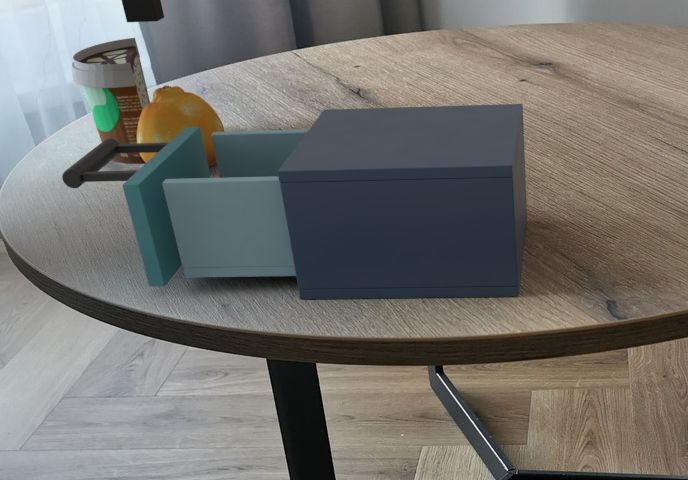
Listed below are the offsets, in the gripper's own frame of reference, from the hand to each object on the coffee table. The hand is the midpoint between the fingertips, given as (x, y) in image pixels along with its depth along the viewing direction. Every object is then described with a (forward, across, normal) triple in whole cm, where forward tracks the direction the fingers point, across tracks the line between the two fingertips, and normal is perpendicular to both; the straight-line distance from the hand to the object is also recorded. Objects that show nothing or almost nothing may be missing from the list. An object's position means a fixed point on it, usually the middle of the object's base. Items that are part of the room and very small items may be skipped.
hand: (145, 19), depth 82 cm
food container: (+15, +10, +10) cm, 21 cm away
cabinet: (+15, -15, -25) cm, 33 cm away
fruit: (+15, +5, +2) cm, 16 cm away
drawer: (+14, -16, -11) cm, 24 cm away
